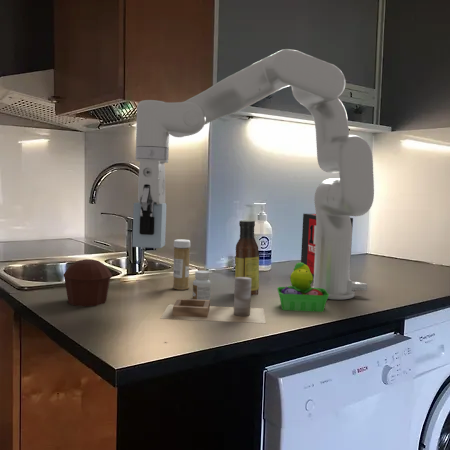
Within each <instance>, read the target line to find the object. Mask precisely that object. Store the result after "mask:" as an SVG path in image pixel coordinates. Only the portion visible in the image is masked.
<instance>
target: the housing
mask: <svg viewBox="0 0 450 450" xmlns="http://www.w3.org/2000/svg"><path fill="white" fill-rule="evenodd" d="M141 204H142V203H141ZM141 204H140V203H139V202H138V201H137V202H133V211H132V213H133V214H132V240H131V241H132V243H131V244H132V245H131V247H132V248H151V249H152V248H153V249H162V248H163V247H164V246H166V230H167V227H166V225H167V203H166V202H165V203H163V204H160V205H157V204H156V203H155V204H154V213H153V217H155V218H154V234H153V235H144V234H140V212H141ZM150 211H151V207H150Z"/></svg>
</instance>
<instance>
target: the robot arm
mask: <svg viewBox="0 0 450 450" xmlns="http://www.w3.org/2000/svg"><path fill="white" fill-rule="evenodd" d="M287 87H291V92H292V96H293V97H294V99H295V100H296V101H297V102H298V103H299V104H300V105H302V106H303V107H304V108H305V109H306V110H308V112H309V113H310V114H311V117H312V118H313V120H314V121H313V123H314V126H315V127H314V128H315V129H314V130H315V141H316V142H315V143H316V159H317V165H318V166H319V168H320V169H321V170H322V171H323V172H326V173H330V174H338V175H339V177H335V178H334V177H333V178H327V179H325V180H323V181H322V182H321V183H320V184H318V186H317V187H316V188H315V192H314V196H313V197H314V199H313V201H314V208H315V214H316V243H315V262H314V279H313V281H312V284H313V285H312V286H311V287H312V288H323V289H325V290H326V292H327V293H328V294H329V296H328V299H327V300H339V301H340V300H341V301H342V300H350V299H353V298H355V291H356V290H358V291H359V290H360V291H367V290H368V284H367V282H359V281H353V280H352V279H351V277H350V274H351V273H350V272H351V262H350V260H351V261H352V245H351V243H353V242H352V240H353V228H352V224H351V220H350V218H351V217H361V216H363V215H365V214H367V213H368V212H369V211H370V209H371V208H372V206H373V203H374V198H375V196H374V195H375V184H374V183H375V181H374V179H375V178H374V177H375V176H374V161H373V159H374V158H373V153H372V150H371V146H370V145H369V143H368V142H367V140H366V139H364V138H363V137H361V136H360V135H355V134H350V127H349V121H348V114H347V110H346V108H345V105H344V104H343V102H342V101H341V99H340V98H339V97H340V96H341V95H342V94H343V92H344V90H345V88H346V78H345V75H344V73H343V72H342V70H341V69H340V68H339V67H338V66H336V65H335V64H333V63H330V62H327V61H325V60H322V59H320V58H318V57H315V56H312V55H310V54H307V53H304V52H302V51H299V50H296V49H290V48H285V49H281V50H279V51H276V52H275V53H272V54H270V55H268V56H266V57H264V58H262V59H260V60H258V61H256V62H254V63H252V64H250V65H248V66H246V67H245V68H243V69H241V70H239V71H237V72H234V73H233V74H231V75H228V76H227V77H225V78H223V79H222V80H221V79H220V80H219V81H218V82H216V83H215V84H213V85H212V86H210V87H209V88H207V89H206V90H203V91H201V92H200V93H198V94H196V95H194V96H193V97H190V98H188V99H186V100H185V101H179V102H178V101H177V102H176V101H175V102H167V101H163V100H156V99H155V100H154V99H145V100H141V101H139V102H138V103H137V105H136V106H137V107H136V131H135V134H136V135H135V162H139V167H138V180H137V181H138V183H137V200H138V201H137V202H139V203H140V204H141V203H142V204H141V212H140V234H144V235H153V234H154V218H155V217H153V213H154V204H155V203H156V204H157V205H160V204H163V203H166V165H165V164H168V163H169V153H170V151H169V149H170V148H169V147H170V146H169V145H170V136H172V137H174V138H184V137H189V136H192V135H195V134H197V133H199V132H200V131H201V130H202V129H203V128H204V127H205V125H207V124H210V123H211V122H213V121H216V120H218V119H220V118H224V117H227V116H230V115H233V114H236V113H238V112H241V111H242V110H244V109H247V108H248V107H250V106H252V105H254V104H255V103H257V102H259V101H262V100H263V99H265V98H267V97H268V96H271V95H273V94H275V93H276V92H278V91H280V90H282V89H285V88H287ZM150 207H151V211H150ZM349 277H350V278H349Z"/></svg>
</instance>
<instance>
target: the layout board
mask: <svg viewBox="0 0 450 450" xmlns="http://www.w3.org/2000/svg"><path fill="white" fill-rule="evenodd" d="M233 296H234V297H233V306H215V305H211V299H210V300H198V299H193V298H177V299H176V300H175V302H174V304H171V303H170V304H168V305H167V307H166V308H165V310H164V311H163V313H162V314H161V316H160V318H159V319H163V320H184V321H203V322H204V321H206V322H224V323H225V322H226V323H227V322H229V323H251V324H266V323H267V322H266V316H265V310H264V308H262V307H261V308H259V307H251V300H252V299H251V298H252V295H251V278H248V277H236V278H235V277H234V295H233Z"/></svg>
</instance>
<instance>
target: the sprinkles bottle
mask: <svg viewBox="0 0 450 450" xmlns="http://www.w3.org/2000/svg"><path fill="white" fill-rule="evenodd" d="M190 248H191V240H190V239H184V238H183V239H181V238H179V239H174V240H173V272H172V273H173V275H172V276H173V280H172V281H173V285H172V288H173V289H174V290H178V291H179V290H180V291H185V290H188V289H190V284H189V283H190V281H189V280H190Z"/></svg>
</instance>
